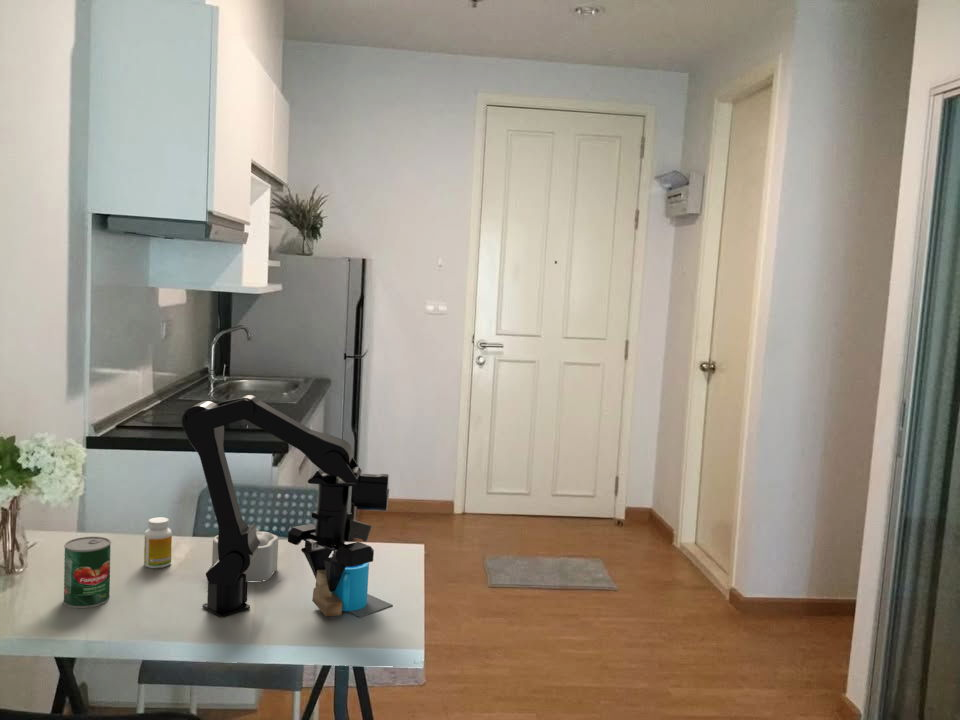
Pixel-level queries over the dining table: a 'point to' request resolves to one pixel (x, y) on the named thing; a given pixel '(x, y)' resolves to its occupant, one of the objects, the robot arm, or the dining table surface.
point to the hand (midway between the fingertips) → (327, 588)
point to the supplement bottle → (157, 543)
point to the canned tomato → (87, 572)
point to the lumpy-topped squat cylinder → (258, 557)
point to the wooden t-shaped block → (326, 596)
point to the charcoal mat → (371, 606)
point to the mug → (353, 587)
